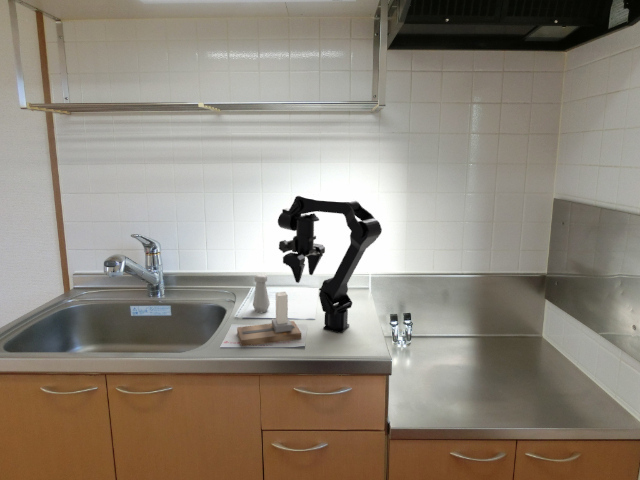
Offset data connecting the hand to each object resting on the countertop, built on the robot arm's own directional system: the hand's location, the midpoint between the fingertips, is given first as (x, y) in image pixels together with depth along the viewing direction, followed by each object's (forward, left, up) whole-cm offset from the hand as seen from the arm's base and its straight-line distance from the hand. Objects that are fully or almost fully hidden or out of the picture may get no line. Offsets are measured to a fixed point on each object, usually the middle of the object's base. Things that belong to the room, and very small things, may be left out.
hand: (304, 278), depth 148 cm
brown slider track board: (+1, +19, -13) cm, 23 cm away
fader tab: (-1, +17, -11) cm, 20 cm away
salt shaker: (+15, +4, -13) cm, 20 cm away
